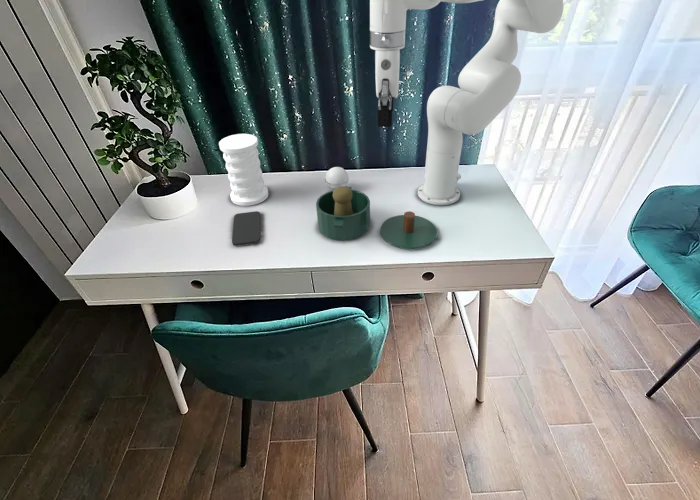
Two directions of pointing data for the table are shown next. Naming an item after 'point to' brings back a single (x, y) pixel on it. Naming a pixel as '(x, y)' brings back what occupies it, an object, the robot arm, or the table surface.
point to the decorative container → (244, 169)
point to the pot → (343, 217)
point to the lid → (408, 231)
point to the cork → (342, 201)
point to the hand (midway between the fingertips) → (385, 118)
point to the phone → (246, 228)
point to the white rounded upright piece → (336, 178)
